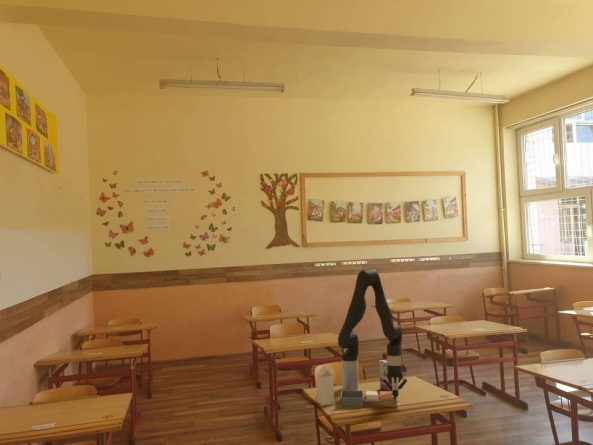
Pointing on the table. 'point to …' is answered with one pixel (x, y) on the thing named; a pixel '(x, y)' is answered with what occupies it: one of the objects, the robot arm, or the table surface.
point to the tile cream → (372, 395)
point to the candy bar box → (383, 374)
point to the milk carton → (325, 387)
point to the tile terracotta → (386, 395)
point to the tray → (351, 398)
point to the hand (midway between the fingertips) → (395, 396)
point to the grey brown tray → (379, 402)
